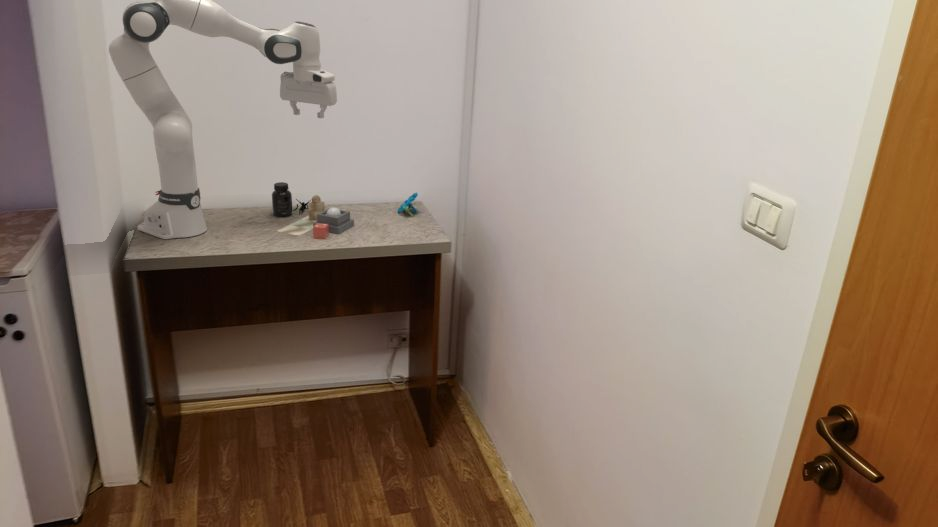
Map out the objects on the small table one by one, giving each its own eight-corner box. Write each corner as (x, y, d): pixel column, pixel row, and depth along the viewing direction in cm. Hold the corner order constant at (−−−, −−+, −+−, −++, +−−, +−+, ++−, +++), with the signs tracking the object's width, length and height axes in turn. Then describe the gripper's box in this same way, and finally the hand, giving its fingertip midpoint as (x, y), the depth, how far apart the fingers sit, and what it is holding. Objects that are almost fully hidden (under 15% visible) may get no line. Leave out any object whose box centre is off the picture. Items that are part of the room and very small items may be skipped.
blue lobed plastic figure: (400, 202, 271) (418, 187, 266) (410, 213, 272) (429, 198, 268) (392, 215, 261) (411, 199, 257) (403, 226, 263) (422, 211, 259)
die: (313, 238, 235) (313, 226, 233) (317, 234, 238) (316, 222, 237) (325, 239, 234) (324, 227, 233) (328, 235, 238) (328, 223, 236)
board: (275, 233, 239) (275, 230, 239) (310, 215, 257) (310, 213, 257) (326, 243, 233) (326, 241, 232) (359, 224, 251) (359, 222, 250)
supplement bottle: (271, 214, 257) (269, 181, 252) (290, 212, 259) (289, 180, 255) (274, 220, 251) (272, 187, 246) (294, 218, 253) (292, 186, 249)
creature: (311, 220, 256) (315, 208, 263) (310, 207, 253) (314, 196, 260) (289, 219, 256) (294, 207, 262) (288, 206, 253) (292, 195, 259)
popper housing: (313, 231, 242) (312, 214, 240) (329, 222, 251) (328, 206, 249) (338, 236, 239) (338, 219, 237) (354, 227, 248) (353, 211, 245)
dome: (323, 222, 242) (322, 208, 241) (331, 217, 247) (331, 204, 245) (336, 224, 241) (336, 211, 239) (344, 220, 245) (344, 206, 243)
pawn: (308, 219, 251) (307, 196, 248) (315, 215, 255) (314, 193, 251) (318, 221, 250) (317, 197, 247) (324, 217, 253) (324, 194, 250)
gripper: (274, 71, 235) (277, 114, 240) (328, 78, 228) (329, 121, 233) (286, 70, 240) (288, 111, 245) (338, 76, 233) (339, 118, 239)
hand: (308, 116), depth 239 cm, fingers open, 8 cm apart
